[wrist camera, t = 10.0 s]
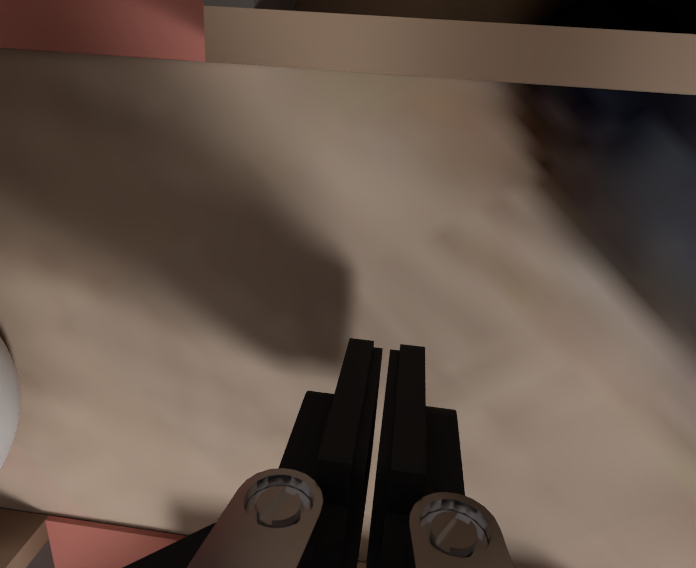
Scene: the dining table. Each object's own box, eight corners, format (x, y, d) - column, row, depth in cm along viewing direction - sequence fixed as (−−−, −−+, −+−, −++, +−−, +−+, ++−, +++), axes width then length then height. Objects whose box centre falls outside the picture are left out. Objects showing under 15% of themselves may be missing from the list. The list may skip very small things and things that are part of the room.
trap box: (939, -254, 8) (1208, -422, 5) (579, 710, 17) (610, 830, 15) (-475, -272, 10) (-797, -397, 8) (-129, 591, 20) (-218, 676, 17)
